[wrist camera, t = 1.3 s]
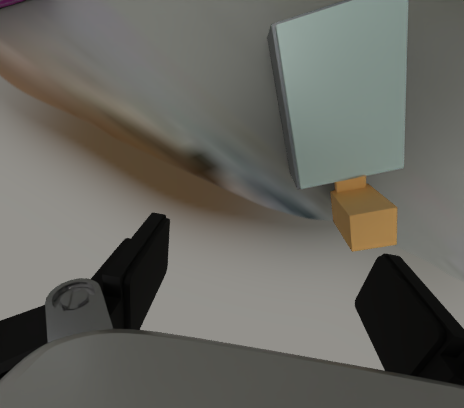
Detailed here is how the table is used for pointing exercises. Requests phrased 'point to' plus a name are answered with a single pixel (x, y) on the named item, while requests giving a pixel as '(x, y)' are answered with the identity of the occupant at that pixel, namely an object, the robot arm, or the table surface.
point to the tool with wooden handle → (349, 108)
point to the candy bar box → (8, 2)
